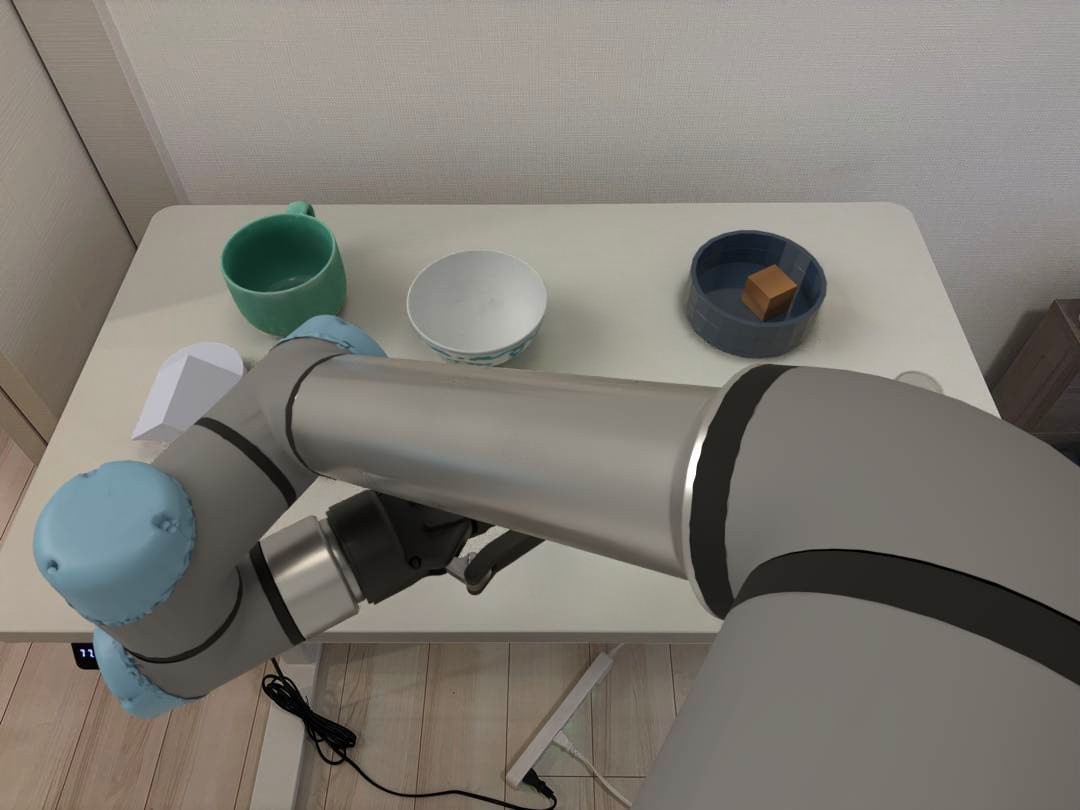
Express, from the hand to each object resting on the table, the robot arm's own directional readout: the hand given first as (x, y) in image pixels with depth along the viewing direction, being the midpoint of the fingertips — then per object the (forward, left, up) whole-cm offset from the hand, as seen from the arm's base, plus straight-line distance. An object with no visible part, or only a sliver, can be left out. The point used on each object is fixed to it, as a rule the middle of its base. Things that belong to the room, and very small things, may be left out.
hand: (624, 419), depth 62 cm
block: (+15, -32, -18) cm, 40 cm away
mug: (+44, +15, -19) cm, 50 cm away
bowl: (+16, -30, -19) cm, 39 cm away
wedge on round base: (+34, +30, -19) cm, 49 cm away
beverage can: (-7, -28, -19) cm, 35 cm away
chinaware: (+27, 0, -19) cm, 33 cm away
